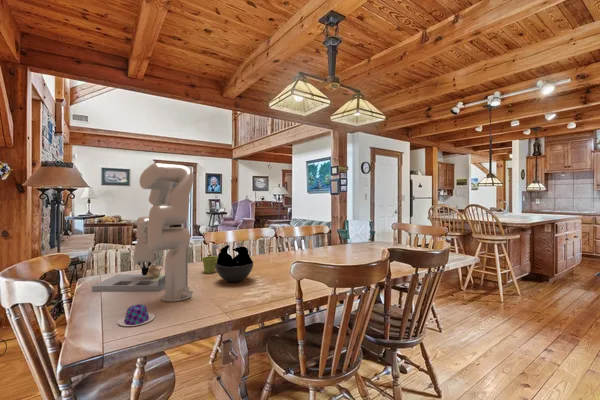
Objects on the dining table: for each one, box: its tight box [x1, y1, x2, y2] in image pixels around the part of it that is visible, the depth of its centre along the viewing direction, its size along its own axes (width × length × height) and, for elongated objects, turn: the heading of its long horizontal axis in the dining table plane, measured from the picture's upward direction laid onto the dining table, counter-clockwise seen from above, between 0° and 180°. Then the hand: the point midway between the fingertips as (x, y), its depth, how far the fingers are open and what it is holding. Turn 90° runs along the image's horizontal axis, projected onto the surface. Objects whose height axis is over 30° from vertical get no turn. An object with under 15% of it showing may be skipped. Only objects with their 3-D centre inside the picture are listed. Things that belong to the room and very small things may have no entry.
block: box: [146, 264, 163, 278], centre depth 157 cm, size 5×5×5 cm
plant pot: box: [201, 255, 218, 274], centre depth 178 cm, size 9×9×9 cm
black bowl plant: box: [215, 244, 254, 283], centre depth 160 cm, size 20×20×19 cm
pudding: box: [117, 304, 156, 327], centre depth 109 cm, size 12×12×5 cm
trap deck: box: [91, 273, 165, 292], centre depth 153 cm, size 32×21×6 cm, turn 92°
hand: (145, 274), depth 157 cm, fingers closed
